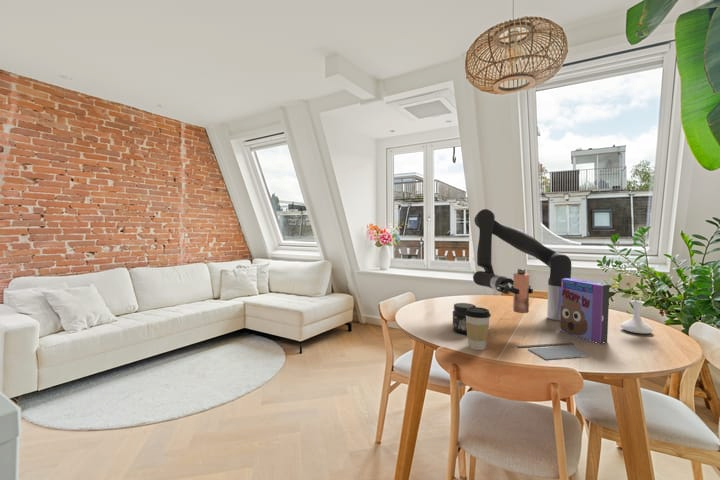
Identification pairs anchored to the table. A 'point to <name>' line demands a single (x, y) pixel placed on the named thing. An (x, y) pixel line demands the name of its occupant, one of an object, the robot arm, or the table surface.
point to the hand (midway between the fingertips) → (524, 291)
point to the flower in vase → (635, 322)
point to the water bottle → (521, 292)
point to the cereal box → (584, 309)
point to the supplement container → (460, 317)
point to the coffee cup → (477, 327)
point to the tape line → (544, 345)
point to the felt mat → (557, 352)
